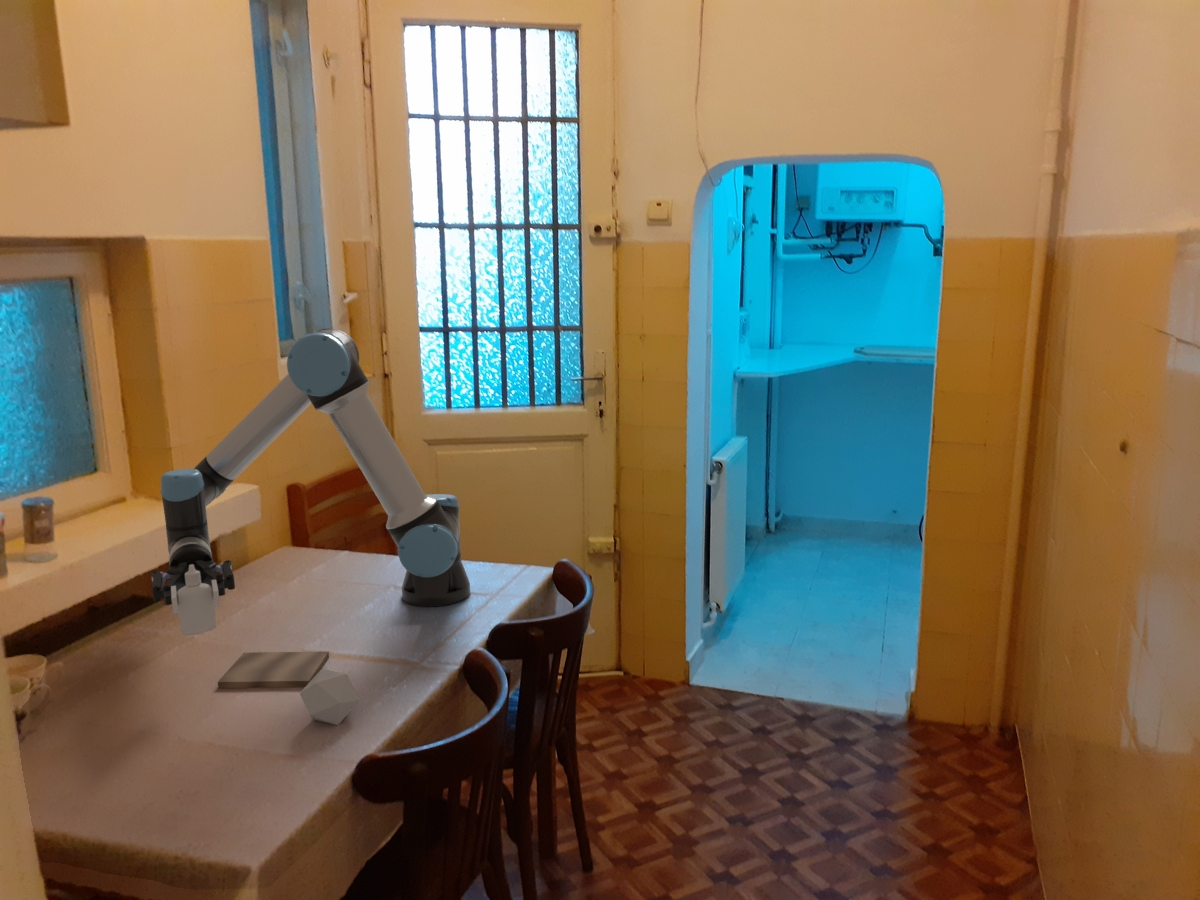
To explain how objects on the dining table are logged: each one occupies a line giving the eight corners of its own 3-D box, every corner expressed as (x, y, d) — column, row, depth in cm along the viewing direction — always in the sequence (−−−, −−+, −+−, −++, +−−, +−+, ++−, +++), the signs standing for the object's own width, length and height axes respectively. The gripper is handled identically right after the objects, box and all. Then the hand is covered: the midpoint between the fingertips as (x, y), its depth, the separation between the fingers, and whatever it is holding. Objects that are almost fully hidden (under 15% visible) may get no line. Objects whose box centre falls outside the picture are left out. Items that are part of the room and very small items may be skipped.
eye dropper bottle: (186, 626, 153) (179, 561, 151) (219, 624, 154) (212, 560, 151) (177, 636, 149) (169, 570, 147) (211, 635, 150) (203, 568, 147)
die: (370, 715, 145) (354, 660, 148) (352, 715, 137) (335, 657, 140) (324, 735, 145) (309, 679, 148) (303, 735, 136) (287, 676, 139)
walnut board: (329, 657, 165) (328, 651, 165) (309, 687, 154) (308, 680, 153) (244, 658, 165) (243, 652, 165) (218, 688, 153) (217, 682, 153)
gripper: (245, 572, 171) (257, 613, 150) (138, 589, 163) (135, 634, 142) (241, 536, 169) (253, 571, 149) (133, 550, 161) (130, 591, 141)
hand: (196, 602), depth 146 cm, fingers closed on eye dropper bottle, 6 cm apart
